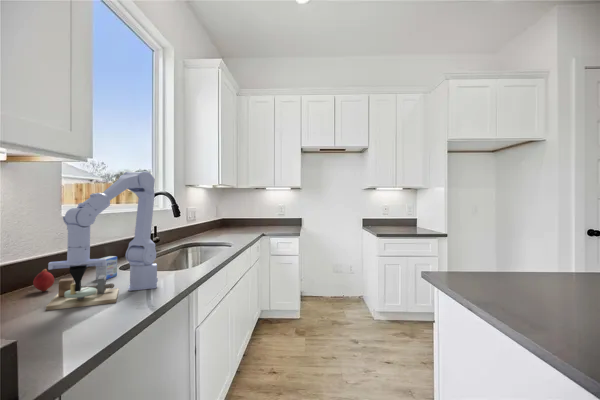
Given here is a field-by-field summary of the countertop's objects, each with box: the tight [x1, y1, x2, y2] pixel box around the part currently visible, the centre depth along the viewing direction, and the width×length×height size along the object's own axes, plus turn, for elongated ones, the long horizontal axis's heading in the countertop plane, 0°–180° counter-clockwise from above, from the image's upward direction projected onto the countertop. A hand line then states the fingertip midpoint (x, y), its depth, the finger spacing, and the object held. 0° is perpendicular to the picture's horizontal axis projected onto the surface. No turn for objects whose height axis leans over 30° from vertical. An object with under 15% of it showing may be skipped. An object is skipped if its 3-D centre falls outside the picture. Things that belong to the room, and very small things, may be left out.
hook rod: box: [57, 277, 115, 297], centre depth 106 cm, size 16×4×5 cm, turn 117°
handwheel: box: [64, 283, 97, 300], centre depth 100 cm, size 8×8×6 cm
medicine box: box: [95, 255, 118, 281], centre depth 134 cm, size 8×4×9 cm, turn 179°
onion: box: [32, 268, 55, 292], centre depth 112 cm, size 6×6×8 cm
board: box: [45, 287, 120, 311], centre depth 103 cm, size 18×14×1 cm
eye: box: [96, 275, 107, 295], centre depth 108 cm, size 2×6×5 cm, turn 27°
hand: (77, 290), depth 96 cm, fingers closed, pressing on handwheel
